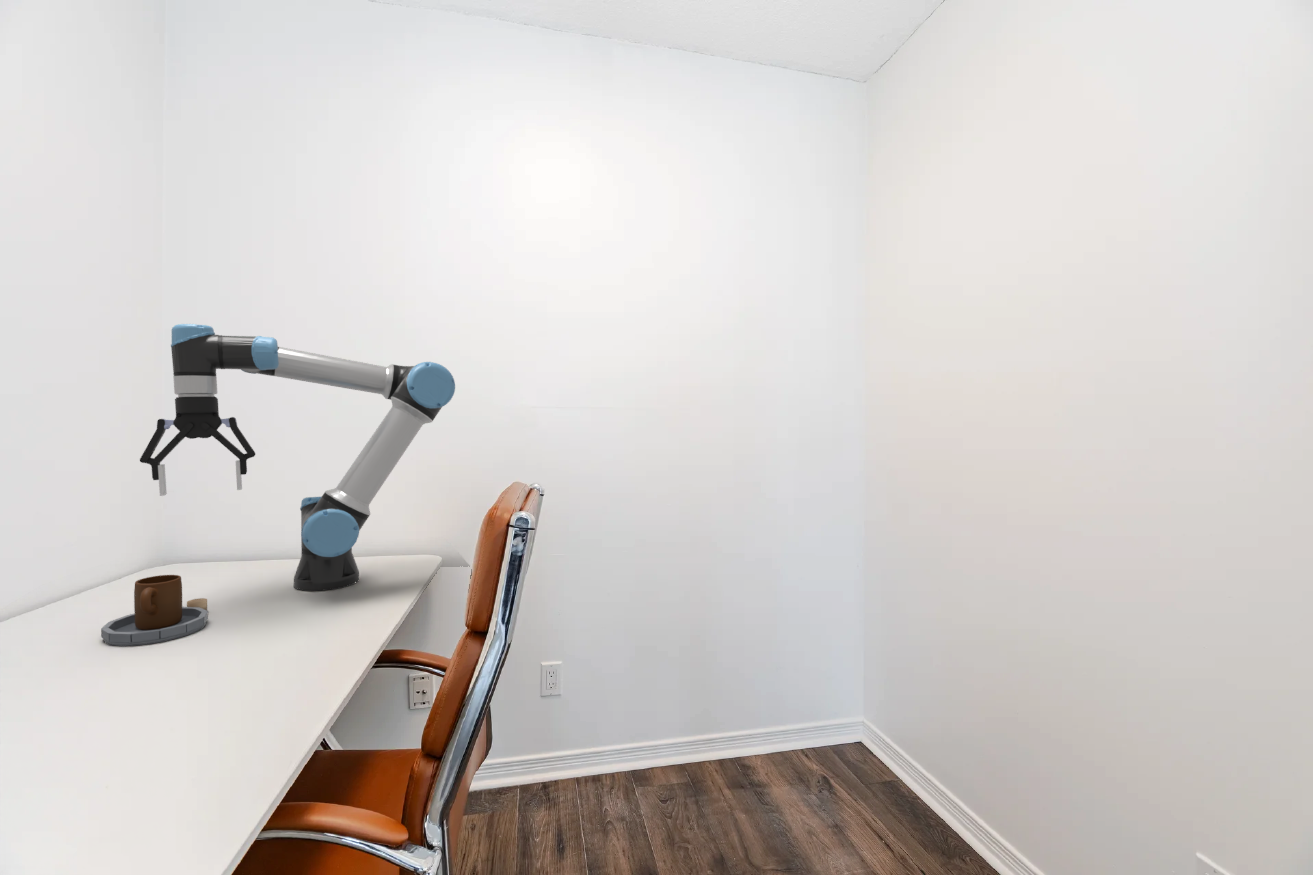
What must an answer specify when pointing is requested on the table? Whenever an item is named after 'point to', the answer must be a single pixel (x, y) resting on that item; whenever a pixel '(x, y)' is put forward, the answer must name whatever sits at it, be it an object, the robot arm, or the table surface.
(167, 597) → the mug
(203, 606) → the bead
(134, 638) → the saucer
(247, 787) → the table surface
